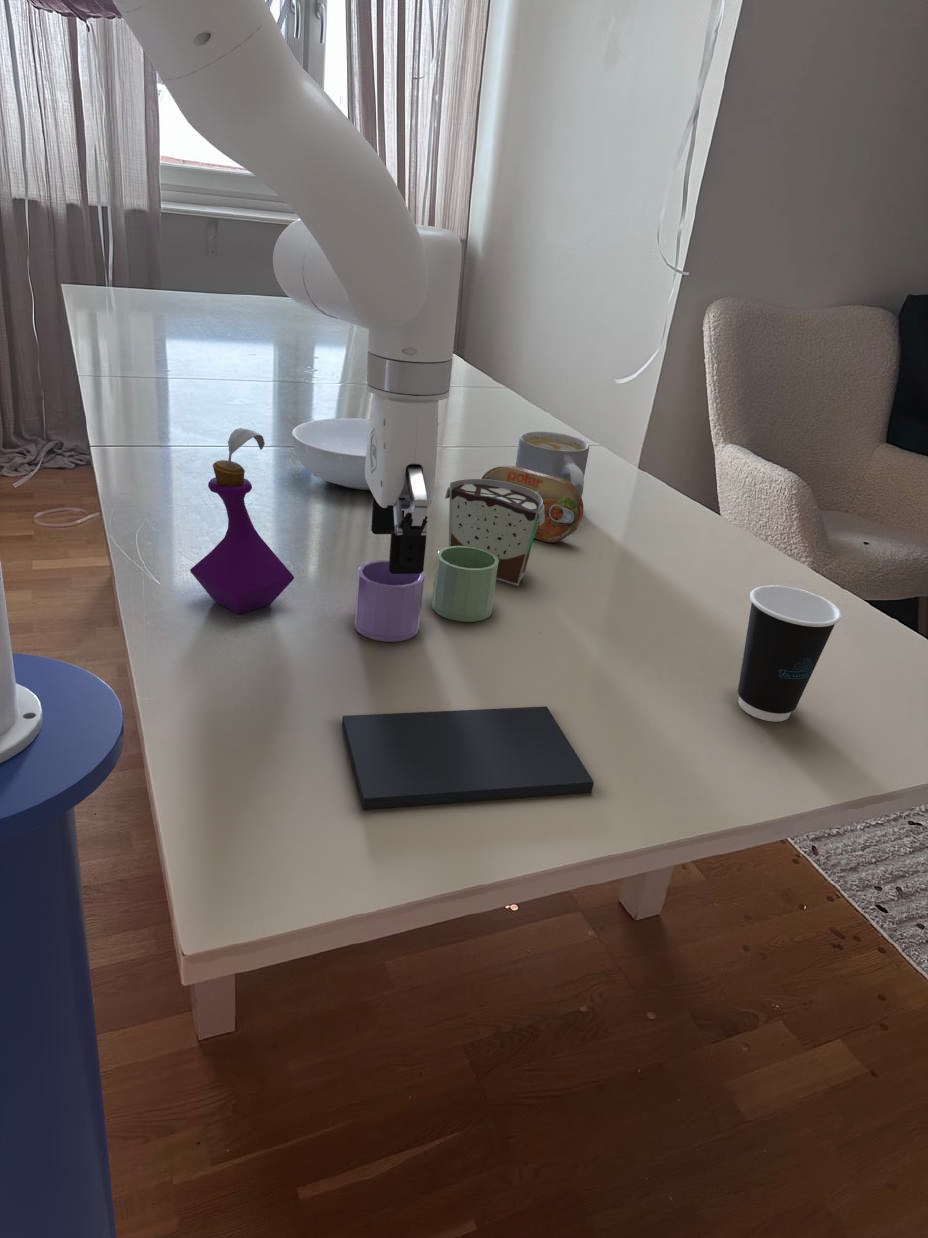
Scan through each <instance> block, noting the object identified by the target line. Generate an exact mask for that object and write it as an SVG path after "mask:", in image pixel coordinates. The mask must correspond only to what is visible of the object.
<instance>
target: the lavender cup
mask: <svg viewBox="0 0 928 1238" xmlns="http://www.w3.org/2000/svg"><path fill="white" fill-rule="evenodd" d="M359 566H360V567H359V568H358V570H357V572H356V573H357V574H356V588H355V589H356V590H355V603H354V606H355V607H354V628H355V630H356V631H357V632H358V633H359V634H360V635H362V636H363V637H365V638H368V639H370V640H374V641H378V642H384V643H385V642H387V643H394V642H396V643H397V642H403V641H407V640H410V639H412V638H413V637H414V638H415V636H416V635H417V634H418V632H419V630H420V629H419V628H420V624H421V617H422V605H423V595H424V584H425V574H424V571H423V572H422V573H420V574H392V573H390V571H389V559H378V560H373V561H372V560H371V561H368V562H366V563H363V564H361V565H359Z"/></svg>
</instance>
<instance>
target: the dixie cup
mask: <svg viewBox="0 0 928 1238" xmlns="http://www.w3.org/2000/svg"><path fill="white" fill-rule="evenodd" d="M749 599H750V601H751V605H750V611H749V617H748V624H747V630H746V636H745V643H744V649H743V654H742V655H743V656H742V660H741V661H742V662H741V668H740V674H739V680H738V681H739V682H738V687H737V693H738V705H739V707H740V708H741V709H742V711H744V712H745V713H747V714H748V715H750V716H752V717H754V718H756V719H760V720H763V721H767V722H777V723H778V722H783V721H787V720H788V719H789V718H790V716H791V714H792V712H794V711H795V710H796V708H797V707H798V705H799V702H800V700H801V698H802V697H803V694H804V692H805V690H806V688H807V686H808V683H809V681H810V679H811V677H812V674H813V673H814V670H815V668H816V666H817V664H818V662H819V660H820V657H821V655H822V653H823V651H824V649H825V647H826V644H827V642H828V640H829V639H830V637H831V634H832V632H833V630H834V628H835V625H836V624H838V623H839V622H840V621H841V620H842V612H841V610H840V609H839V607H838V606H837V605H835V603H833V602H832V601H830V600H828V599H827V598H825V597H823V596H821V595H818V594H817V593H815V592H814V593H813V592H811V591H807V590H806V589H805V590H804V589H801V588H796V587H791V586H785V585H775V584H773V585H772V584H771V585H770V584H769V585H761V586H758V587H755V588H754V589H753V590H751V591H750V593H749Z"/></svg>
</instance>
